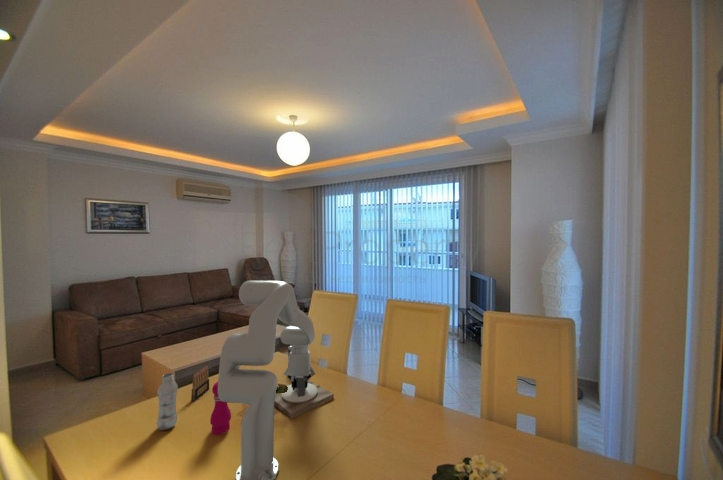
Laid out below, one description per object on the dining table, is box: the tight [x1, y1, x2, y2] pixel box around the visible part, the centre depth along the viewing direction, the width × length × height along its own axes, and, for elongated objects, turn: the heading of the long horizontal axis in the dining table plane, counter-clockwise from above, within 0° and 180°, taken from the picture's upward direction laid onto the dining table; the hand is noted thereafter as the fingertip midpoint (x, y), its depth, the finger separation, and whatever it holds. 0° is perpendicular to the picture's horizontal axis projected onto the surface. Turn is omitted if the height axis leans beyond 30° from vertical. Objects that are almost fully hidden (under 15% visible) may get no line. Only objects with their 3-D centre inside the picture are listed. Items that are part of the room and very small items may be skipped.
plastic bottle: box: [156, 372, 179, 431], centre depth 114 cm, size 6×7×20 cm
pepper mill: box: [209, 381, 232, 436], centre depth 113 cm, size 7×7×20 cm
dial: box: [282, 376, 317, 403], centre depth 135 cm, size 16×16×7 cm
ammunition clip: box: [190, 365, 210, 402], centre depth 138 cm, size 11×2×12 cm, turn 175°
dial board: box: [274, 379, 334, 419], centre depth 135 cm, size 22×22×2 cm
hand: (299, 388), depth 136 cm, fingers closed on dial, 4 cm apart
